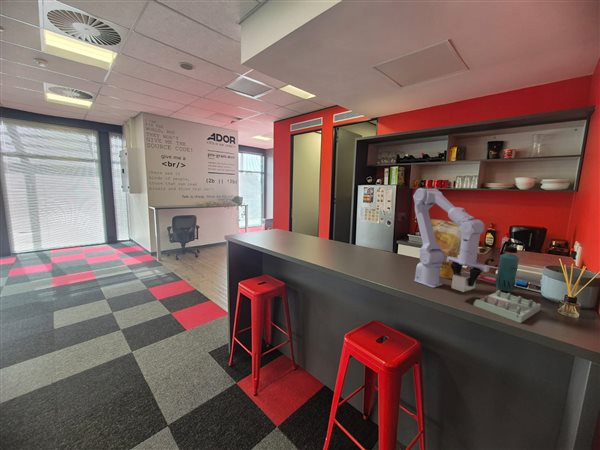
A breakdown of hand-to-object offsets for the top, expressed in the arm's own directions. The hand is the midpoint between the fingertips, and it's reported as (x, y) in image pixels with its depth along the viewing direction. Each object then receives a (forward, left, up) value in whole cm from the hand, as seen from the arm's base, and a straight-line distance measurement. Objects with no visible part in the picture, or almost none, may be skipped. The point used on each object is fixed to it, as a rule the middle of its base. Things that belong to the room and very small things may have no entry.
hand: (463, 283), depth 99 cm
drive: (0, 0, -2) cm, 2 cm away
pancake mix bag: (-21, +19, -6) cm, 29 cm away
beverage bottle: (+6, +24, -6) cm, 25 cm away
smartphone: (-7, +35, -7) cm, 36 cm away
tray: (+13, +6, -6) cm, 15 cm away
